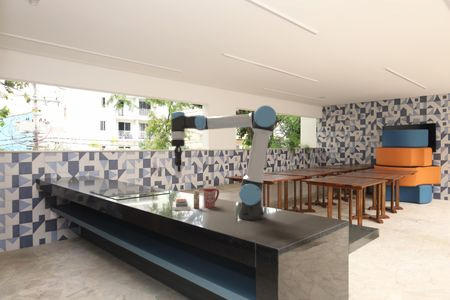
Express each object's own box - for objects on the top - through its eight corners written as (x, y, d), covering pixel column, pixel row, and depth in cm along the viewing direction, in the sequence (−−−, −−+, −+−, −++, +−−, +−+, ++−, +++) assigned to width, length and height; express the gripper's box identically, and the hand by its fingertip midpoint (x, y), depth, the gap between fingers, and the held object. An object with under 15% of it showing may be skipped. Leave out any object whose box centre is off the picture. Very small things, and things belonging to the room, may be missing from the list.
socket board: (188, 203, 220) (188, 198, 220) (190, 209, 198) (190, 203, 198) (173, 204, 218) (173, 198, 218) (173, 210, 196) (173, 204, 196)
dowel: (198, 207, 206) (199, 190, 206) (199, 208, 202) (199, 191, 202) (193, 207, 206) (193, 190, 205) (193, 208, 202) (193, 191, 202)
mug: (208, 208, 202) (208, 188, 202) (200, 206, 209) (200, 187, 209) (222, 206, 210) (222, 187, 210) (214, 204, 217) (214, 186, 217)
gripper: (170, 139, 181) (170, 174, 181) (172, 138, 157) (172, 179, 157) (182, 140, 183) (182, 174, 183) (186, 138, 159) (186, 178, 159)
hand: (178, 176), depth 170 cm, fingers open, 13 cm apart
